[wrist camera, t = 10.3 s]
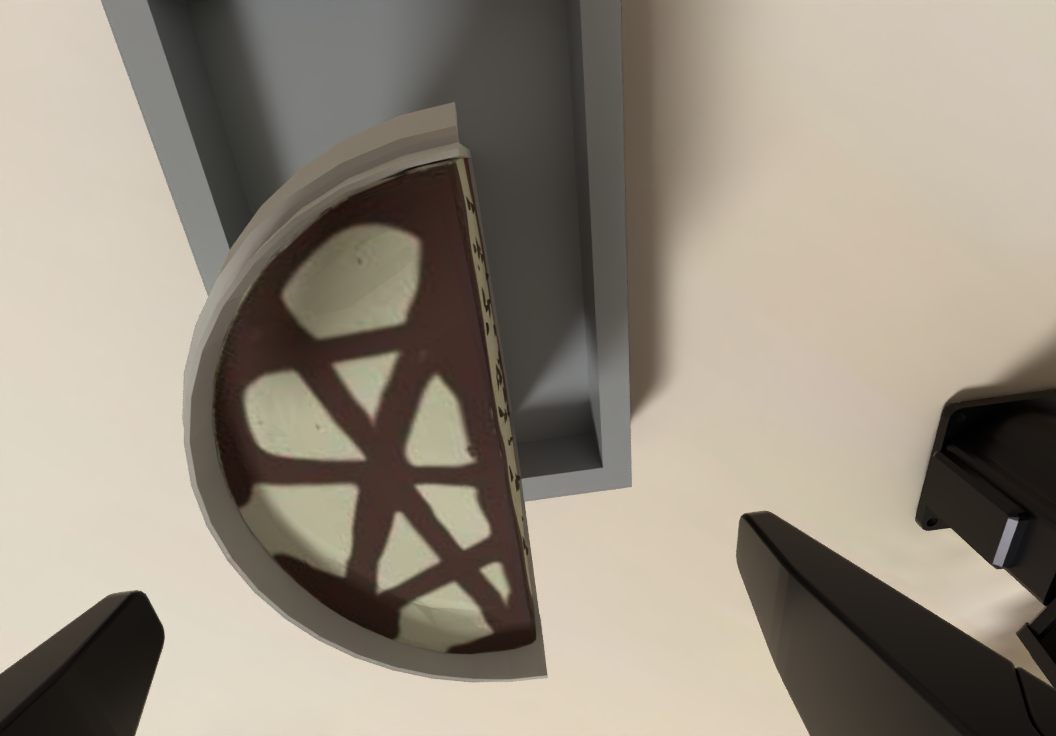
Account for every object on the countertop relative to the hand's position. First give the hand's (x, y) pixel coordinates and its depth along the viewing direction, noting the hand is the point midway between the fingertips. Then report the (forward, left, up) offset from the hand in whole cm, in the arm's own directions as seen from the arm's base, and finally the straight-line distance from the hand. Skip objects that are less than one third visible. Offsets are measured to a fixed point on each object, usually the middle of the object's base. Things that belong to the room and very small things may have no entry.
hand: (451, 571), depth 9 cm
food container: (+2, 0, -12) cm, 12 cm away
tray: (+1, -2, -13) cm, 13 cm away
